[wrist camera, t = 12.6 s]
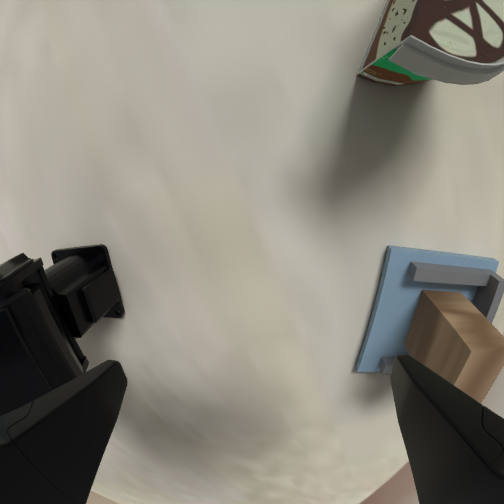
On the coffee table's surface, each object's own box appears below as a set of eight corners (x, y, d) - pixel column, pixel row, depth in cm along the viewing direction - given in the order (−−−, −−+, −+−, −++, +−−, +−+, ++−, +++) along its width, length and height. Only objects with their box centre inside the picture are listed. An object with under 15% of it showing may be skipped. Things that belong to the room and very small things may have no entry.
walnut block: (403, 343, 21) (437, 412, 14) (422, 289, 20) (471, 351, 12) (441, 343, 21) (479, 405, 14) (460, 292, 20) (512, 347, 12)
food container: (424, 136, 17) (519, 136, 8) (349, 93, 17) (406, 46, 7) (461, 18, 13) (532, -22, 4) (396, -23, 13) (445, -89, 3)
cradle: (355, 366, 24) (362, 392, 20) (387, 245, 20) (404, 261, 17) (454, 363, 23) (467, 384, 20) (493, 258, 19) (515, 273, 16)
